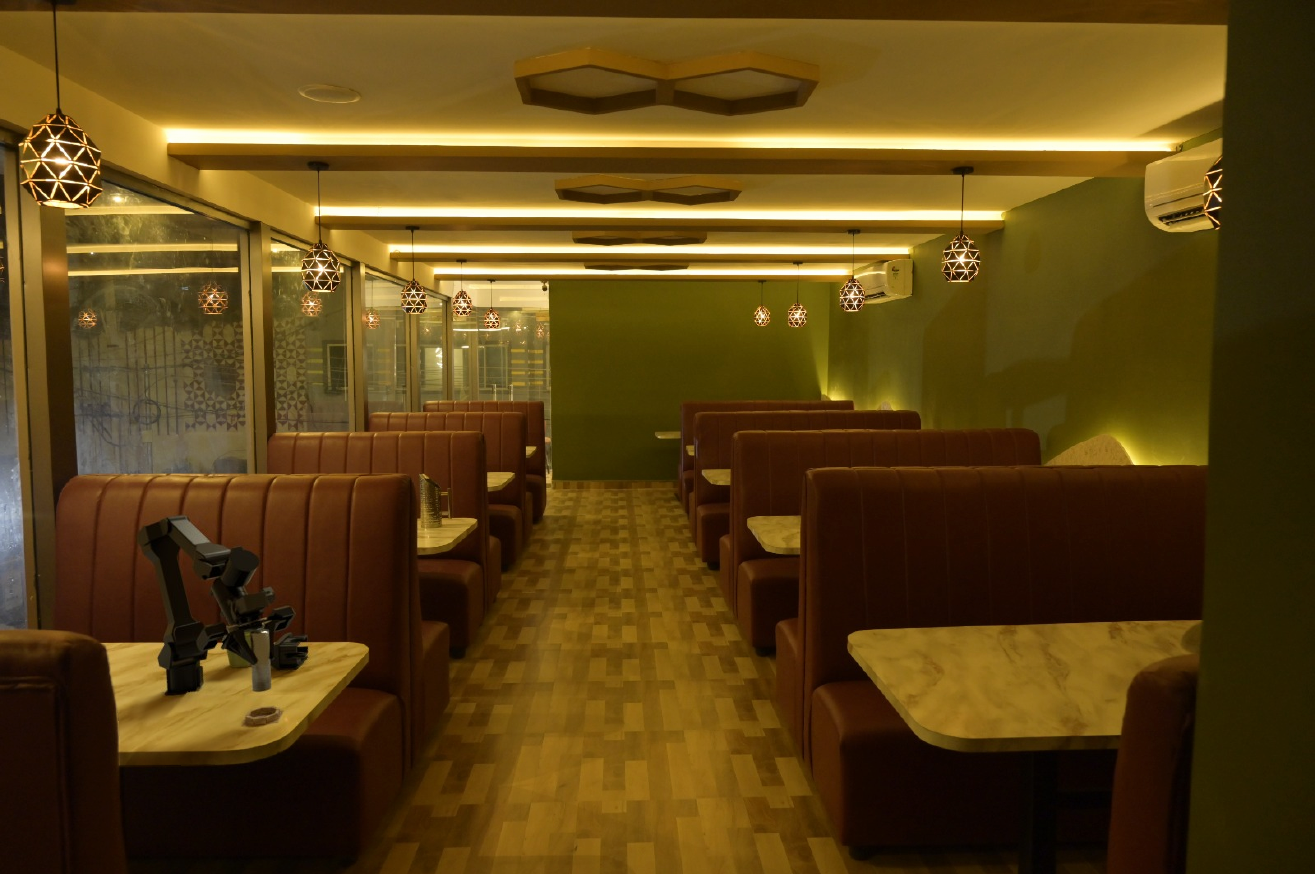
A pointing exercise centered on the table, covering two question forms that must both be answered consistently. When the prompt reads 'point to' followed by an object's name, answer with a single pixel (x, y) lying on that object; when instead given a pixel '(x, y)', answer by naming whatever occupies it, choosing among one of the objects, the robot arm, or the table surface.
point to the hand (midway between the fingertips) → (264, 661)
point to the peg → (261, 660)
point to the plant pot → (237, 660)
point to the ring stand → (263, 716)
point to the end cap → (289, 652)
